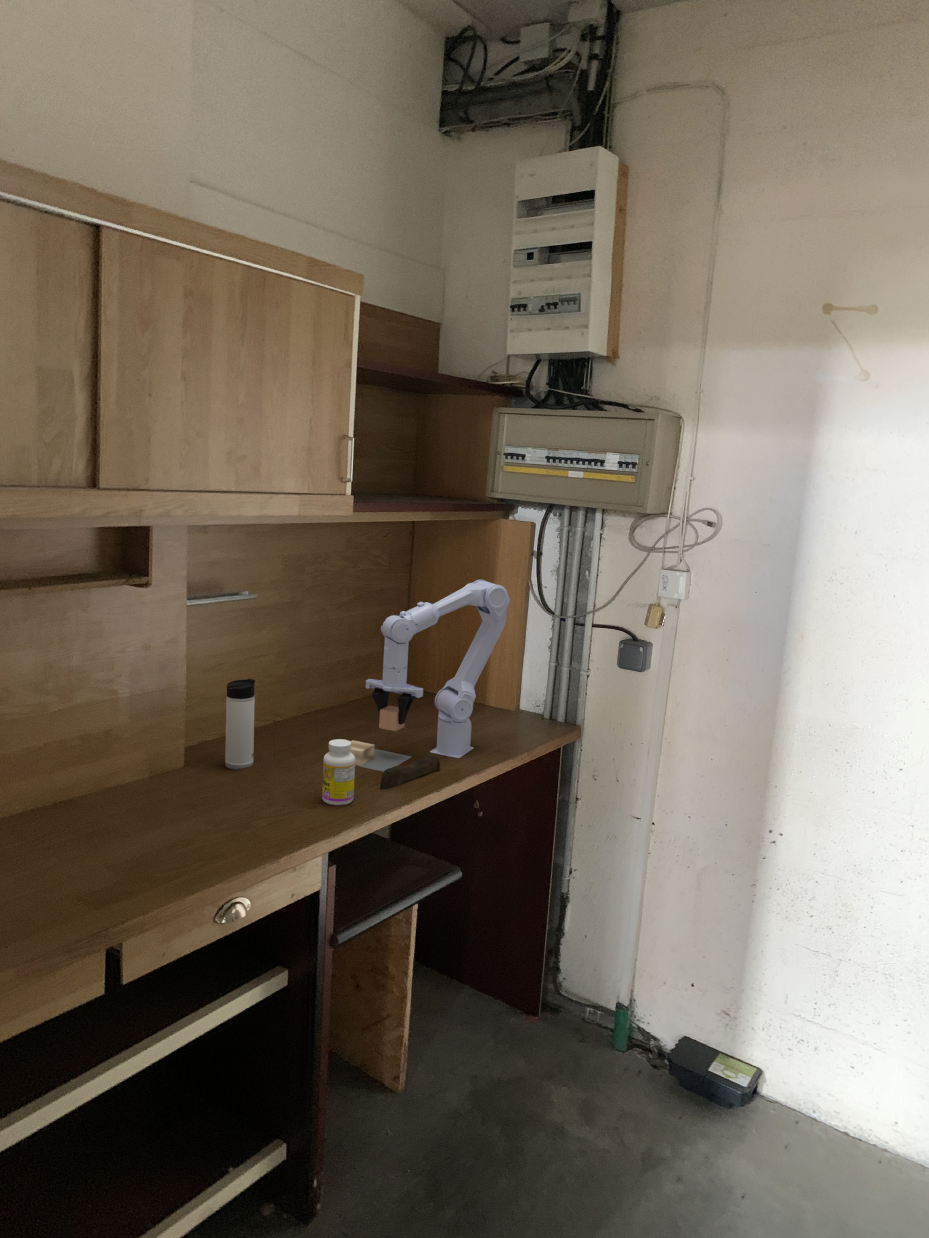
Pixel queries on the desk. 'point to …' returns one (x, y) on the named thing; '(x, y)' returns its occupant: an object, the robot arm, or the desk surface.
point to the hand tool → (409, 772)
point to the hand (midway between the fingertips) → (392, 721)
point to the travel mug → (240, 724)
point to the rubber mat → (385, 760)
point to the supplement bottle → (338, 773)
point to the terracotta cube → (390, 718)
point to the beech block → (362, 752)
